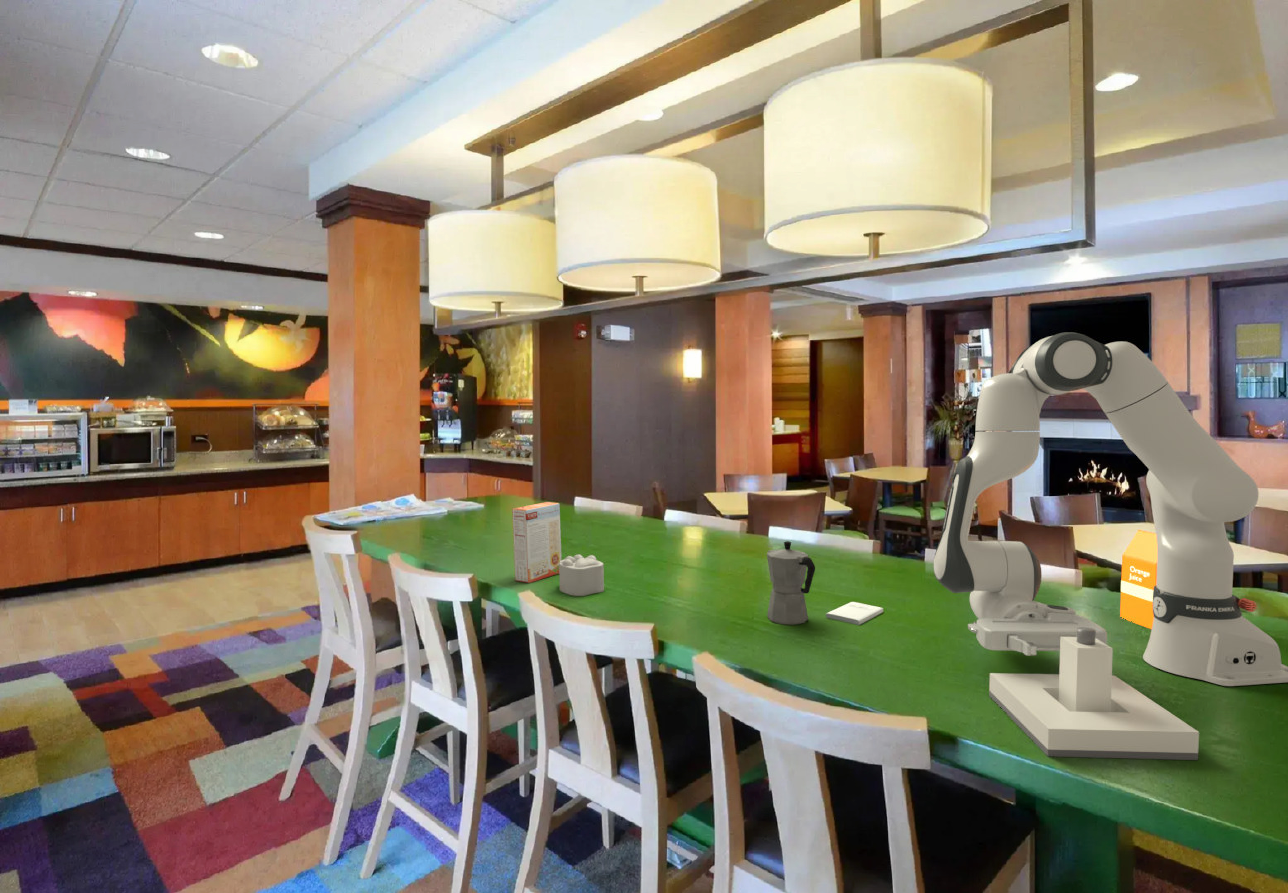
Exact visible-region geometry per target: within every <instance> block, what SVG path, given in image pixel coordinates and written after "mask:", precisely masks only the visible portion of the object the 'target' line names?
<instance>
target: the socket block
mask: <svg viewBox="0 0 1288 893" xmlns="http://www.w3.org/2000/svg"><path fill="white" fill-rule="evenodd" d="M988 689H989V690H988V691H989V692H988V693H989V694H988V696H989V698H990V699H991V698H992V699H991V700H992V701H993V702H994V703H995V702H996V703H995V704H996V705H997V704H998V705H997V706H998V707H999V708H1000V707H1001V708H1002V709H1001V708H1000V709H1001V710H1002V711H1003V712H1004V711H1005V712H1006V713H1007V714H1006V713H1005V712H1004V713H1005V714H1006V715H1007V717H1009V716H1010V717H1009V718H1010V719H1011V721H1013V723H1014V724H1015V725H1016V726H1017V727H1019V729H1021V731H1022V732H1023V733H1025V735H1027V737H1028V738H1029V737H1030V738H1029V739H1030V740H1031V741H1032V740H1033V741H1032V742H1033V743H1034V744H1035V745H1036V746H1037V747H1038V748H1039V749H1040V750H1041V751H1042V752H1043V753H1044V754H1045V755H1046V757H1053V756H1054V757H1055V758H1057V757H1058V758H1062V757H1063V758H1095V759H1096V758H1097V759H1098V758H1100V759H1101V758H1102V759H1133V760H1134V759H1137V760H1139V759H1140V760H1141V759H1142V760H1143V759H1144V760H1174V761H1175V760H1177V761H1178V760H1180V761H1181V760H1183V761H1186V760H1187V761H1198V760H1199V747H1200V746H1199V744H1200V743H1199V742H1200V740H1199V739H1200V732H1199V731H1198V730H1197V729H1195V728H1194V727H1193V726H1191V725H1189V724H1187V723H1186V722H1185V721H1183V720H1182V719H1180V718H1179V717H1177V716H1176V715H1174V714H1172V713H1171V712H1170V711H1168V710H1167V709H1165V708H1164V707H1162V705H1159V704H1158V703H1156V702H1155V701H1153V700H1152V699H1150V698H1149V697H1147V696H1146V695H1145V694H1143V693H1141V692H1140V691H1139V690H1137V689H1136V688H1134V687H1132V686H1131V685H1130V684H1128V683H1127V682H1125V681H1123V680H1122V679H1120V678H1119V677H1117V676H1116V675H1115V674H1112V685H1111V712H1071V711H1069V710H1067V709H1066V708H1065V707H1064V706H1063V705H1061V704H1060V703H1059V673H1058V674H1057V673H1005V672H1004V673H1001V672H998V673H997V672H996V673H995V672H990V673H989V688H988Z"/></svg>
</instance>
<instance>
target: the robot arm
mask: <svg viewBox="0 0 1288 893" xmlns="http://www.w3.org/2000/svg"><path fill="white" fill-rule="evenodd" d="M1079 390H1084V391H1086V392H1087V393H1088V394H1090V395H1091V397H1093V398H1094V399H1095V400H1096V402H1097V403H1098V405H1099V407H1100V408H1101V410H1102V411H1103V413H1104V414H1105V415H1106V417H1107V418H1108V420H1109V422H1111V424H1112V426H1113V428H1114V429H1115V430H1116V432H1117V434H1118V435H1119V436H1120V438H1121V439H1122V441H1123V443H1125V446H1127V448H1128V449H1129V450H1130V451H1131V452H1132V453H1134V455H1136V456H1137V458H1138V459H1139V460H1140V461H1141V462H1142V463H1143V464H1144V466H1145V467H1147V469H1148V471H1147V474H1146V479H1145V480H1146V481H1145V484H1146V487H1147V489H1148V493H1149V496H1150V503H1151V510H1152V511H1151V512H1152V519H1153V525H1154V529H1155V530H1154V531H1155V533H1156V538H1157V580H1156V586H1154V589H1153V604H1152V605H1153V616H1154V619H1153V625H1152V629H1150V630H1151V632H1150V635H1149V639H1148V642H1147V645H1146V649H1145V651H1144V653H1143V655H1142V658H1143V660H1144V661H1145V662H1146V663H1147V664H1148V665H1150V666H1152V667H1154V668H1156V669H1160V670H1162V671H1164V672H1168V673H1170V674H1174V675H1177V676H1182V677H1187V678H1191V679H1197V680H1201V681H1205V682H1208V683H1212V684H1216V685H1220V686H1223V687H1236V686H1237V687H1238V686H1253V685H1265V684H1267V685H1268V684H1269V685H1270V684H1281V683H1288V666H1287V665H1285V664H1282V658H1281V657H1282V656H1281V650H1280V647H1279V645H1278V643H1277V641H1275V640H1274V638H1273V637H1271V636H1270V635H1269V634H1268V633H1266V632H1264V631H1263V630H1261V629H1260V628H1259V627H1258V626H1256V625H1255V624H1253V623H1252V622H1251V621H1250V620H1248V619H1247V618H1245V617H1244V616H1243V613H1242V610H1245V611H1247V612H1250V613H1252V612H1255V611H1256V610H1257V608H1258V604H1257V603H1256V601H1254V600H1251V599H1248V598H1246V597H1245V598H1239V597H1238V596H1237V595H1234V594H1233V580H1234V559H1235V558H1234V556H1235V554H1234V551H1233V548H1232V545H1231V544H1230V541H1229V539H1228V533H1227V531H1226V526H1225V523H1232V522H1235V521H1238V520H1241V519H1243V518H1245V517H1246V516H1248V515H1249V514H1250V513H1251V512H1253V510H1254V509H1255V507H1256V506H1257V503H1258V501H1259V488H1258V485H1257V483H1256V481H1255V480H1254V479H1253V478H1252V477H1251V475H1249V474H1248V473H1247V471H1244V470H1243V469H1242V468H1241V467H1240V466H1239V465H1238V464H1237V463H1236V462H1235V461H1234V460H1233V459H1232V457H1231V456H1230V455H1229V454H1228V453H1227V452H1226V450H1225V449H1224V448H1223V447H1222V446H1221V445H1220V444H1219V442H1218V441H1217V440H1215V439H1214V437H1212V435H1210V433H1208V432H1207V431H1206V429H1204V427H1202V426H1201V425H1200V424H1199V422H1198V421H1197V420H1196V419H1195V417H1194V416H1193V415H1192V413H1191V412H1190V411H1189V410H1188V408H1187V406H1185V404H1184V403H1183V401H1182V400H1181V398H1180V397H1179V395H1178V394H1177V393H1176V391H1175V390H1174V388H1173V387H1172V385H1171V384H1170V382H1169V381H1168V379H1166V377H1165V376H1164V374H1163V373H1162V372H1161V370H1159V368H1158V367H1157V366H1156V365H1155V364H1154V363H1153V361H1152V360H1151V359H1150V358H1149V357H1148V356H1147V355H1146V354H1145V353H1144V352H1143V351H1142V350H1141V349H1139V348H1138V347H1137V346H1136V345H1135V344H1133V343H1131V342H1128V341H1113V342H1109V343H1106V344H1103V343H1102V342H1101V343H1100V342H1098V341H1096V340H1094V339H1093V338H1091V337H1089V336H1087V335H1085V334H1081V333H1077V332H1072V331H1070V332H1066V331H1065V332H1060V333H1056V334H1054V335H1051V336H1046V337H1044V338H1041V339H1039V340H1038V341H1036V342H1035V343H1034V344H1032V345H1030V346H1028V347H1026V348H1025V349H1024V350H1023V351H1022V352H1021V353H1020V354H1019V355H1018V357H1016V360H1015V362H1014V364H1013V365H1012V366H1011V368H1010V370H1009V371H1008V372H1007V373H1001V374H1000V373H999V374H997V375H996V374H995V375H994V376H991V377H990V378H988V379H986V381H984V383H983V384H982V386H981V389H980V393H979V395H978V396H979V397H978V402H977V406H976V416H975V436H974V440H973V444H972V446H971V449H970V450H969V452H968V454H967V455H966V456H965V457H963V458H961V459H960V460H958V462H957V465H956V467H955V469H954V473H953V476H952V480H951V485H950V488H949V489H950V490H949V494H948V498H947V503H946V509H945V512H944V519H943V524H942V529H941V534H940V538H939V541H938V543H937V547H936V550H935V553H934V558H933V574H934V577H935V579H936V580H937V582H939V584H940V585H942V586H943V587H944V588H945V589H947V590H948V591H949V592H951V593H952V594H953V593H954V594H961V593H962V594H963V593H970V594H969V604H970V608H971V610H972V611H973V613H974V615H975V617H976V618H977V620H976V621H973V622H972V623H968V624H967V629H968V630H969V631H971V632H972V633H974V634H976V636H975V637H976V639H977V641H978V643H979V644H980V646H982V647H983V648H984V649H987V650H989V651H1015V652H1019V653H1021V654H1022V653H1023V655H1025V656H1037V652H1060V637H1077V628H1078V627H1087V628H1092V629H1094V630H1096V637H1095V638H1096V639H1098V640H1099V641H1101V642H1103V643H1104V644H1106V645H1108V634H1107V631H1106V629H1105V628H1104V627H1102V626H1101V625H1100V624H1097V623H1095V622H1094V621H1092V620H1090V619H1089V618H1087V617H1085V616H1081V615H1079V614H1076V610H1075V609H1074V608H1071V607H1068V606H1062V605H1055V604H1054V605H1053V604H1046V603H1043V602H1040V601H1039V602H1038V601H1035V599H1036V597H1037V595H1038V593H1039V591H1040V587H1041V583H1042V567H1041V563H1040V560H1039V559H1038V557H1037V555H1036V554H1035V552H1034V551H1033V550H1032V548H1031V547H1029V546H1028V545H1027V544H1026V543H1024V542H1023V541H1021V540H1020V541H1017V540H1014V541H1013V540H1012V541H1011V540H1009V541H1008V540H990V541H989V540H988V541H987V540H986V541H985V540H984V541H983V540H969V534H970V530H971V529H970V528H971V524H972V519H973V514H974V510H975V504H976V501H977V499H978V497H979V496H980V495H981V493H983V492H984V491H985V490H986V489H989V488H990V487H992V486H994V485H997V484H1000V483H1003V482H1006V481H1008V480H1010V479H1011V480H1012V479H1014V478H1015V477H1018V476H1020V475H1021V474H1024V473H1025V472H1026V471H1028V470H1029V469H1030V468H1031V467H1032V466H1033V464H1034V463H1035V462H1036V460H1037V458H1038V456H1039V452H1040V443H1041V442H1040V441H1041V440H1040V436H1041V432H1040V430H1041V428H1040V427H1041V425H1040V424H1041V423H1040V422H1041V420H1040V414H1041V410H1042V407H1043V405H1044V402H1045V401H1046V400H1047V399H1048V398H1049V397H1050V396H1052V397H1053V396H1060V395H1066V394H1068V393H1071V392H1072V391H1073V392H1075V391H1079ZM1241 609H1242V610H1241Z"/></svg>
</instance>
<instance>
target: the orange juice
mask: <svg viewBox="0 0 1288 893" xmlns="http://www.w3.org/2000/svg"><path fill="white" fill-rule="evenodd" d="M1121 555H1122V556H1121V580H1120V608H1119V609H1120V610H1119V612H1120V613H1119V614H1120V615H1119V618H1120V617H1122V618H1121V619H1123V618H1124V619H1123V620H1125V619H1126V621H1128V622H1131V621H1132V622H1131V623H1134V624H1136V625H1139V626H1142V627H1144V628H1147V629H1150V630H1152V625H1153V619H1154V616H1153V605H1152V604H1153V589H1154V586H1156V580H1157V538H1156V532H1155V533H1154V532H1152V531H1151V532H1150V531H1146V530H1141V529H1137V531H1136V533H1135V534H1134V537H1132V539H1131V541H1130V543H1129V544H1128V546H1126V549H1125V551H1124V552H1123V553H1122V554H1121Z"/></svg>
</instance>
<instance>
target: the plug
mask: <svg viewBox="0 0 1288 893" xmlns="http://www.w3.org/2000/svg"><path fill="white" fill-rule="evenodd" d="M1095 637H1096V630H1094V629H1092V628H1087V627H1078V628H1077V637H1060V651H1059V672H1058V674H1059V703H1060V704H1061V705H1063V706H1064V707H1065V708H1066V709H1067V710H1069V711H1071V712H1111V685H1112V675H1113V655H1114V654H1113V650H1114V648H1113V647H1111V646H1109V645H1108V644H1107V645H1106V644H1104V643H1103V642H1101V641H1099V640H1098V639H1096V638H1095Z"/></svg>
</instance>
